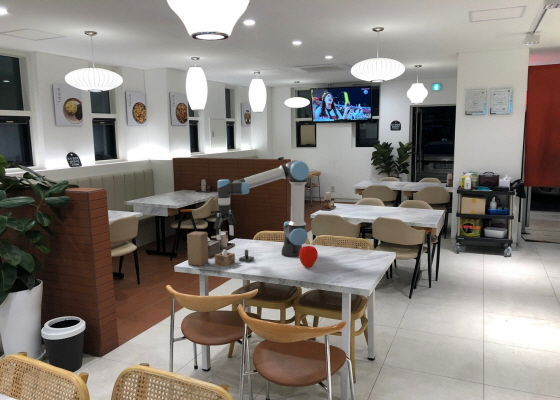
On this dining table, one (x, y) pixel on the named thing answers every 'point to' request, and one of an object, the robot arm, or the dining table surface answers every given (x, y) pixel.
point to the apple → (308, 256)
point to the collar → (225, 259)
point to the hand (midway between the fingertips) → (225, 237)
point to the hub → (222, 265)
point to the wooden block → (197, 248)
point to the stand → (246, 257)
